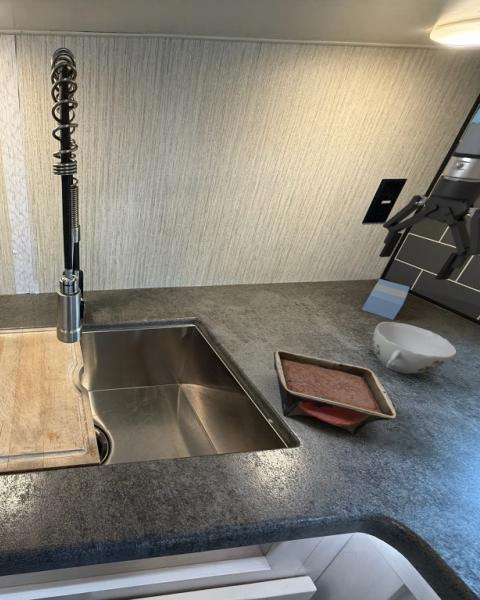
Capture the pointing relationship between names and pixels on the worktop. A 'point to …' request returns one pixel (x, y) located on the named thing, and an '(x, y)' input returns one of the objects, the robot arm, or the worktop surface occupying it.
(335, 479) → the worktop surface
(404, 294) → the tea packet
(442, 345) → the teacup
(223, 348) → the worktop surface
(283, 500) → the worktop surface
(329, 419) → the baking dish
